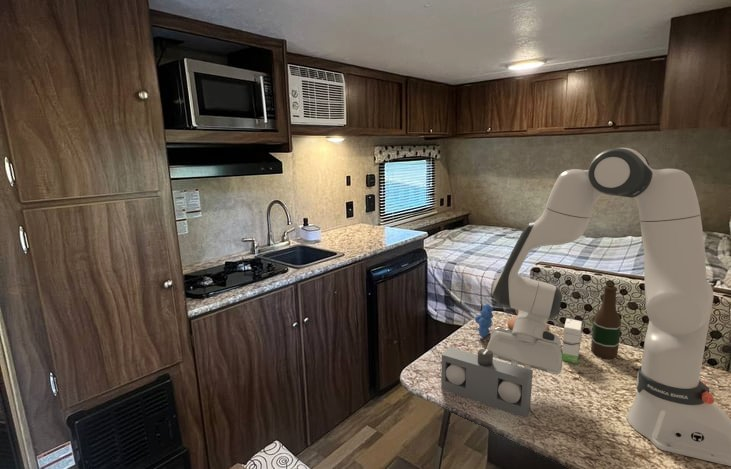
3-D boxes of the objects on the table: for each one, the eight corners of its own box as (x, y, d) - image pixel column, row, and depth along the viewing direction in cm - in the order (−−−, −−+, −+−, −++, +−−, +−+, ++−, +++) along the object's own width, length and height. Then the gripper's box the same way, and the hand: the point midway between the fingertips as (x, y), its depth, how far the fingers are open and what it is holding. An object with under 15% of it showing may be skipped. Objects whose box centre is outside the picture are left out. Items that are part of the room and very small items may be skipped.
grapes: (478, 327, 155) (479, 298, 153) (495, 330, 151) (497, 301, 149) (469, 338, 145) (469, 308, 143) (487, 342, 142) (488, 312, 139)
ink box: (578, 364, 126) (581, 330, 124) (561, 360, 129) (563, 327, 127) (579, 352, 134) (582, 320, 131) (563, 349, 136) (566, 317, 134)
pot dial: (494, 361, 108) (495, 350, 108) (489, 367, 105) (490, 356, 104) (480, 357, 111) (480, 346, 110) (475, 363, 107) (475, 352, 107)
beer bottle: (617, 351, 134) (624, 284, 129) (617, 361, 127) (625, 292, 122) (591, 346, 138) (597, 281, 133) (589, 355, 131) (596, 288, 126)
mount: (530, 407, 106) (532, 370, 103) (525, 418, 101) (527, 380, 99) (448, 380, 119) (449, 346, 117) (441, 388, 115) (441, 354, 113)
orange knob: (476, 377, 116) (477, 355, 114) (466, 390, 109) (467, 367, 108) (453, 370, 120) (454, 348, 119) (443, 382, 114) (443, 360, 112)
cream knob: (529, 394, 107) (531, 370, 106) (522, 409, 101) (524, 384, 99) (503, 386, 111) (504, 363, 110) (494, 400, 105) (495, 376, 104)
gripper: (491, 321, 119) (478, 365, 113) (565, 338, 107) (555, 387, 101) (495, 329, 123) (483, 372, 117) (566, 346, 111) (557, 394, 106)
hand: (517, 379), depth 109 cm, fingers closed, pressing on cream knob
